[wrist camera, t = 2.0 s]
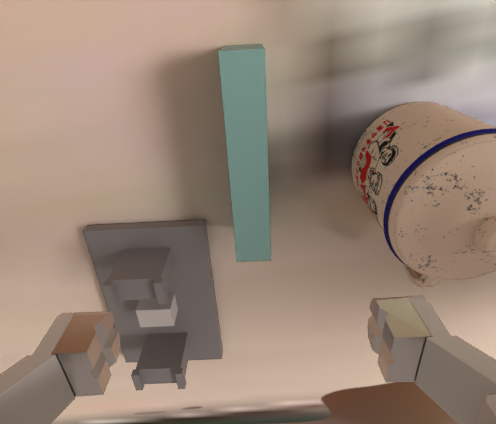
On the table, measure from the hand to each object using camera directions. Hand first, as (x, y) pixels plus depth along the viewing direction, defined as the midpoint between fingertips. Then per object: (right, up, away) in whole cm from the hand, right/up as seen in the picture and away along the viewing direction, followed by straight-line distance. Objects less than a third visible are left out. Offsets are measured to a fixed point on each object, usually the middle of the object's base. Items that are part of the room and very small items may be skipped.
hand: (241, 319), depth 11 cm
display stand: (-8, -5, +22) cm, 24 cm away
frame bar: (0, +8, +15) cm, 18 cm away
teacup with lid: (+12, +6, +17) cm, 22 cm away
